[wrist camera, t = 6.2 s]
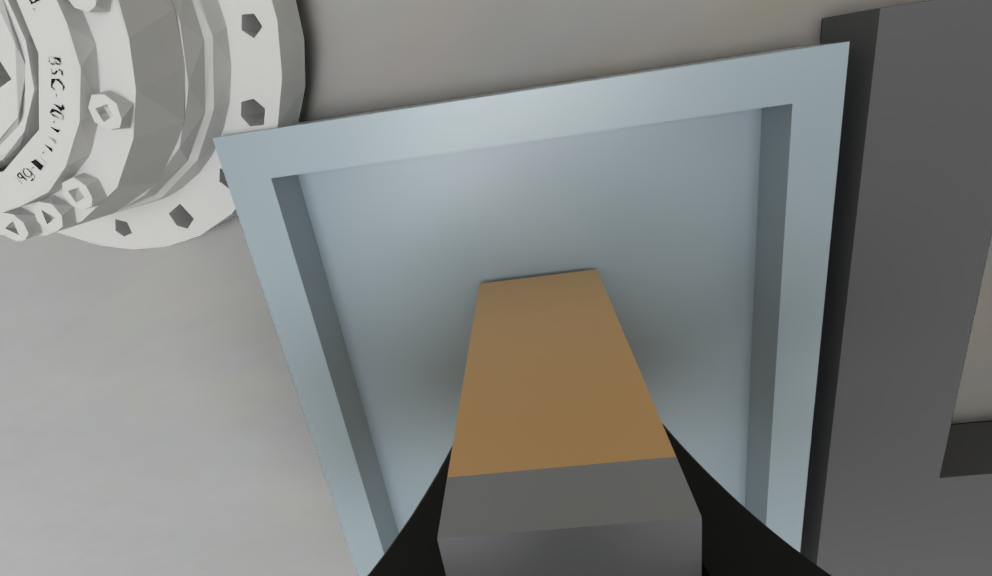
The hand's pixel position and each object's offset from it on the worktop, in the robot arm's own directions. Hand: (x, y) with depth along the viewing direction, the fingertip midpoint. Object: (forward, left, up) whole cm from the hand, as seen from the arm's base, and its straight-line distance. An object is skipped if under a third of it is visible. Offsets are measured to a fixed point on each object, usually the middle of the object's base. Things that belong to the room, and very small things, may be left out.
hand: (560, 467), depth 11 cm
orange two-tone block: (0, 0, -3) cm, 3 cm away
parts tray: (0, 0, -4) cm, 4 cm away
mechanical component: (+9, -10, -5) cm, 15 cm away
